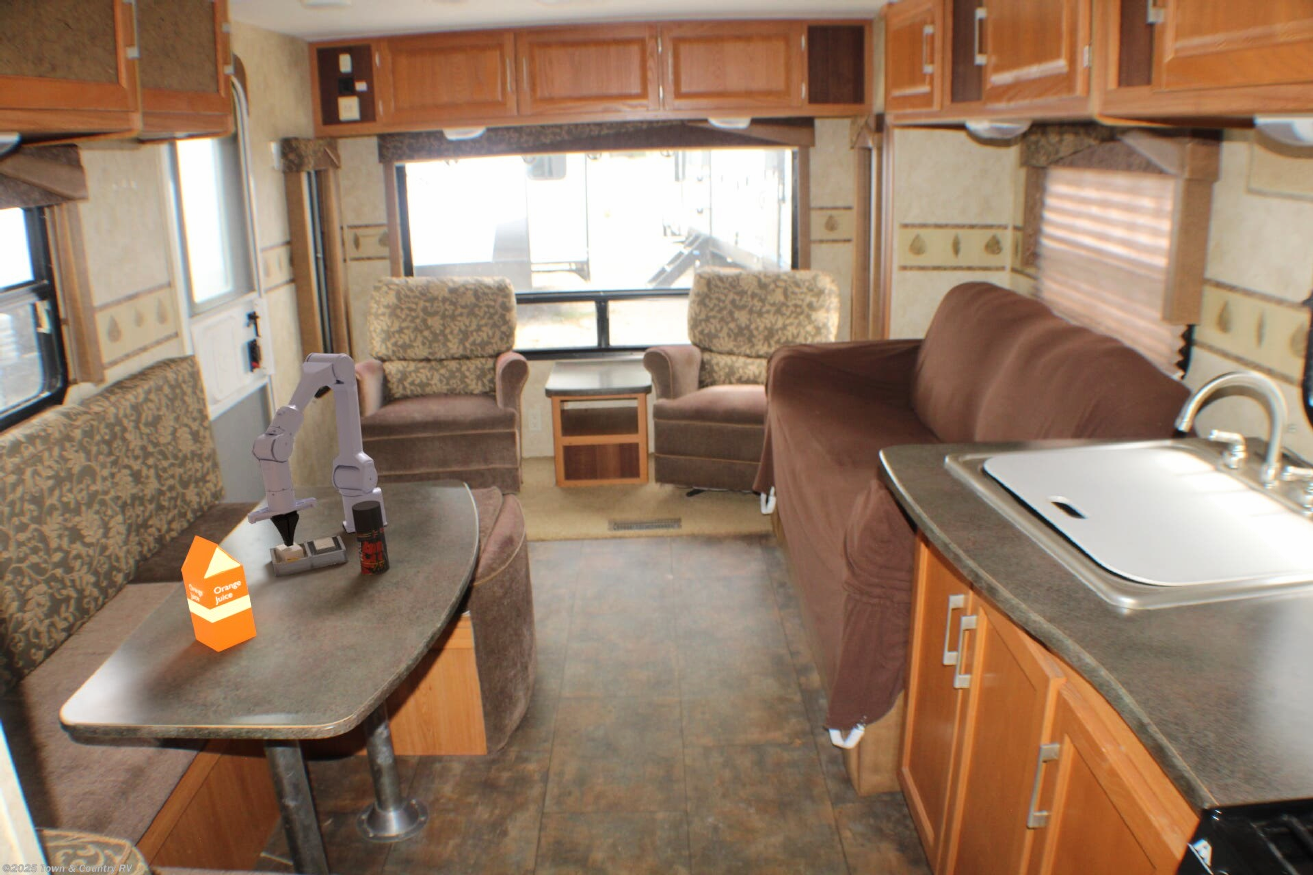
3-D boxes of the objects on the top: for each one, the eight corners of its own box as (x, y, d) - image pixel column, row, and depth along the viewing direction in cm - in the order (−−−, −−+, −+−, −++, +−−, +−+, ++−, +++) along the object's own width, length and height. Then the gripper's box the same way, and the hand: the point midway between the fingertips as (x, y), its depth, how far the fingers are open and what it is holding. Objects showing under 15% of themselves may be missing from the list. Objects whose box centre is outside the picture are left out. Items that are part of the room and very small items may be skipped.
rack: (340, 545, 222) (338, 532, 221) (348, 561, 213) (345, 547, 212) (271, 560, 216) (269, 546, 215) (275, 577, 206) (273, 562, 205)
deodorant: (355, 572, 206) (345, 508, 202) (375, 562, 211) (365, 499, 207) (376, 576, 204) (366, 511, 199) (395, 565, 209) (386, 502, 204)
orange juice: (234, 623, 186) (215, 528, 180) (257, 635, 180) (238, 537, 175) (195, 639, 180) (174, 542, 174) (217, 652, 174) (196, 552, 169)
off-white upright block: (296, 555, 216) (293, 541, 215) (304, 562, 212) (302, 548, 211) (278, 560, 214) (275, 546, 213) (286, 568, 210) (284, 553, 209)
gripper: (305, 475, 215) (315, 531, 219) (239, 491, 206) (250, 549, 210) (316, 482, 210) (325, 539, 213) (249, 499, 201) (259, 558, 205)
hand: (289, 544), depth 211 cm, fingers closed
